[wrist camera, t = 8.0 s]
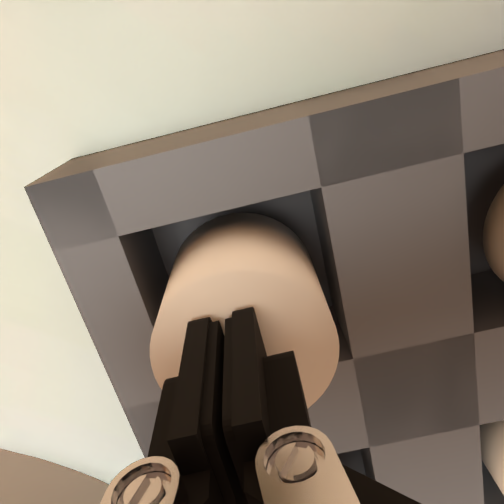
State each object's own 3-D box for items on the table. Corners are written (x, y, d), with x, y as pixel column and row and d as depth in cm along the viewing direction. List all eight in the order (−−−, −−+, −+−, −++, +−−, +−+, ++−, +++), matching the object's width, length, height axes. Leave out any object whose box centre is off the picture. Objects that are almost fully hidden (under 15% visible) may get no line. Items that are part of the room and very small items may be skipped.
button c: (297, 197, 15) (321, 249, 11) (323, 323, 16) (352, 409, 12) (153, 231, 15) (122, 295, 11) (195, 351, 17) (181, 444, 13)
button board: (647, 12, 15) (780, -3, 11) (609, 454, 23) (681, 530, 19) (72, 158, 16) (24, 187, 13) (218, 530, 24) (215, 616, 20)
